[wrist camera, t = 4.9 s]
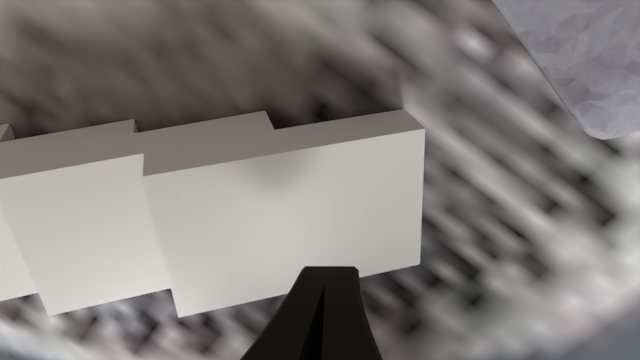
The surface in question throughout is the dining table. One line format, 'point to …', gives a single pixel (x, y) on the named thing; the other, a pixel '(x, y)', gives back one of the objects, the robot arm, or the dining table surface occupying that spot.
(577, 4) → the stone block
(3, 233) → the domino
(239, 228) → the domino
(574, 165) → the dining table surface
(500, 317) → the dining table surface
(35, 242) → the domino
